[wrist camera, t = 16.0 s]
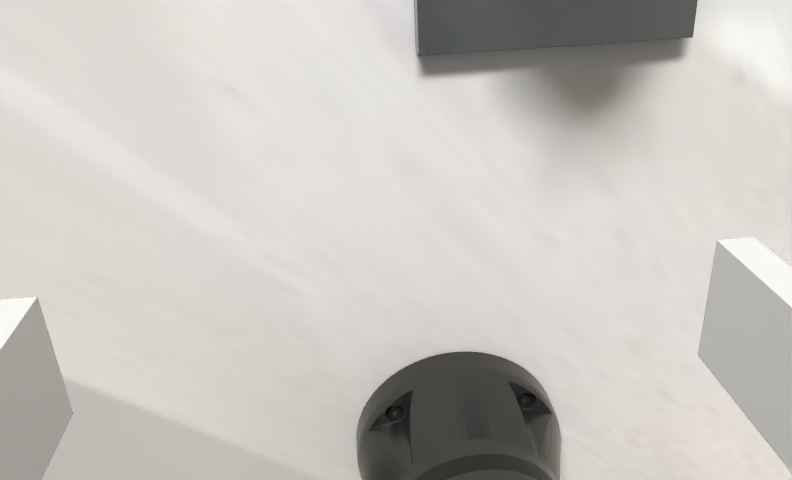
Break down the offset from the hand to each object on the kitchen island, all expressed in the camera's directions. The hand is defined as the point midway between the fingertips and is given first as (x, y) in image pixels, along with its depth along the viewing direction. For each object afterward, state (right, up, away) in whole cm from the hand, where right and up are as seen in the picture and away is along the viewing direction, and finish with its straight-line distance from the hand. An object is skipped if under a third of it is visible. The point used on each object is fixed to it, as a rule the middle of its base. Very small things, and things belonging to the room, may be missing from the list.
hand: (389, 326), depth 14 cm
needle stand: (+9, +21, +25) cm, 34 cm away
